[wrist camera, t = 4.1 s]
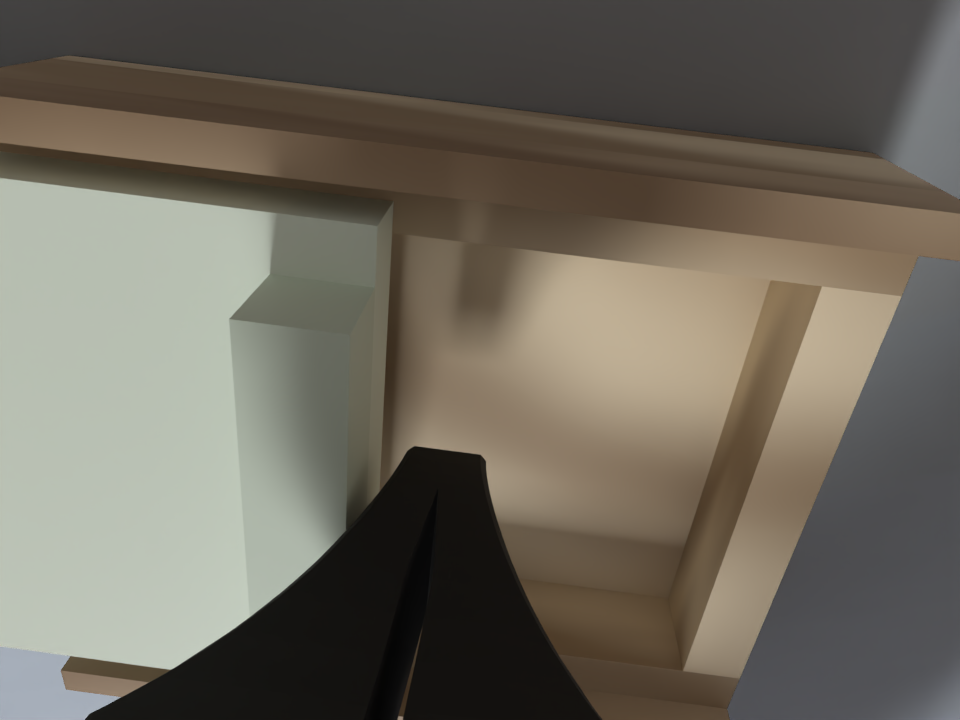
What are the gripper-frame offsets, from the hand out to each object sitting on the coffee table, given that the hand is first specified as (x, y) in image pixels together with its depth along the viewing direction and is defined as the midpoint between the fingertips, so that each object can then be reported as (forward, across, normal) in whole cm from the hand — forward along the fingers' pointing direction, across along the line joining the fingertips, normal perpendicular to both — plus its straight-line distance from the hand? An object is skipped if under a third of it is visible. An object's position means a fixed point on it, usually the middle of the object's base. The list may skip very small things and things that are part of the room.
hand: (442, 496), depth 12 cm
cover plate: (+1, +7, 0) cm, 7 cm away
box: (+3, 0, 0) cm, 3 cm away
